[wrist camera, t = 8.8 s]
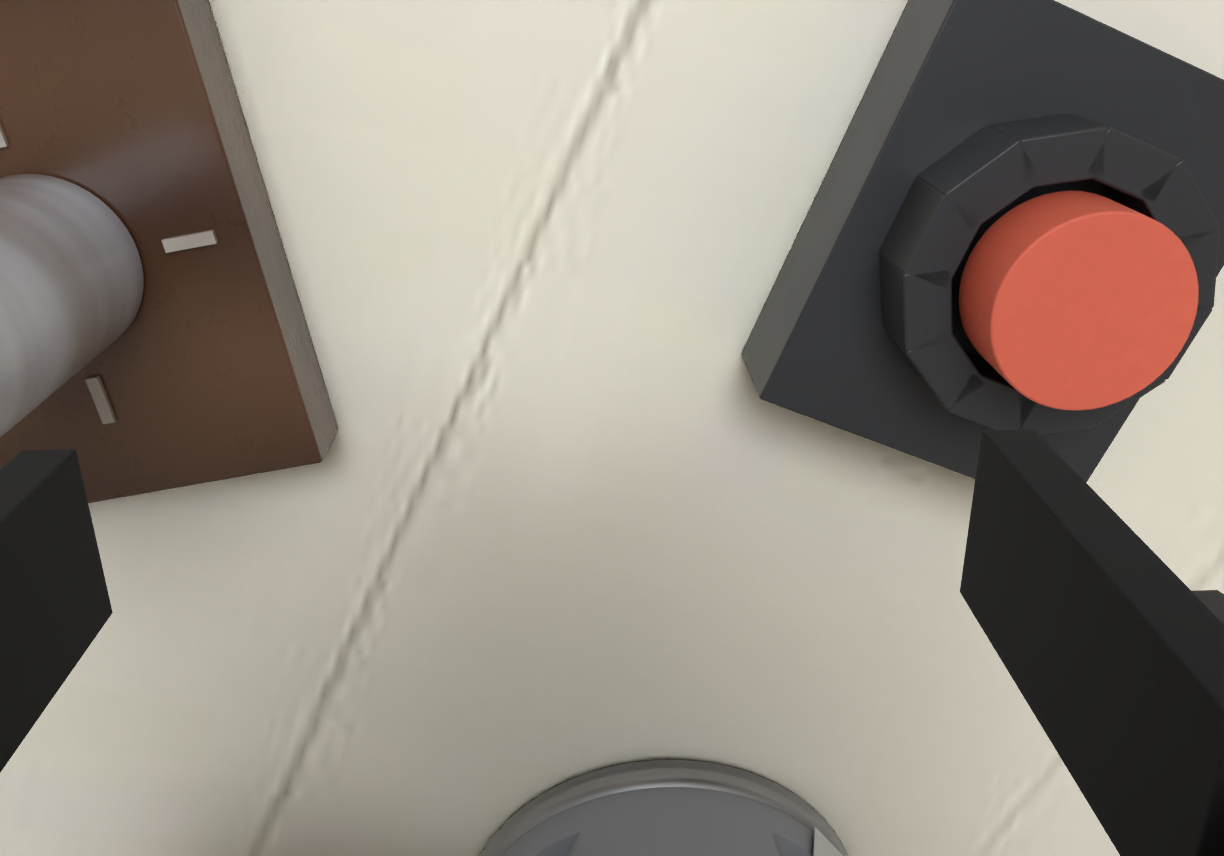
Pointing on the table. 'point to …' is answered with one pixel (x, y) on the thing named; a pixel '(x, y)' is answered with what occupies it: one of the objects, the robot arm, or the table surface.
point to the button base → (978, 218)
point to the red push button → (1078, 299)
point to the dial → (58, 287)
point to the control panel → (163, 249)
